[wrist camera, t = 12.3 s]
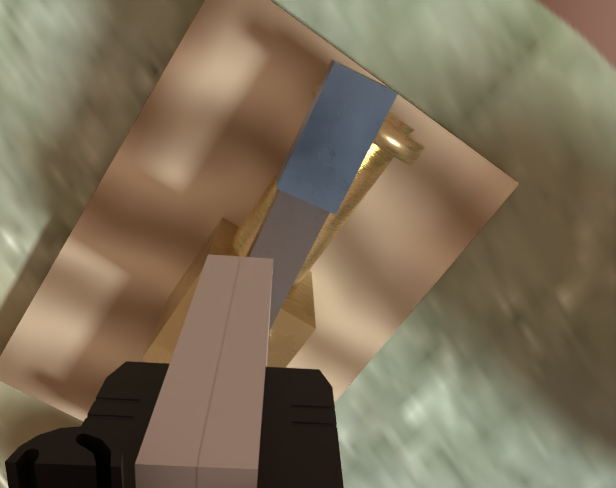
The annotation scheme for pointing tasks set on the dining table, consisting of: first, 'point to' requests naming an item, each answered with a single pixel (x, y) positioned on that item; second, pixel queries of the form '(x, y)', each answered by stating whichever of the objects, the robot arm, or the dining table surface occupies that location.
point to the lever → (319, 171)
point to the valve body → (300, 302)
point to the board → (242, 212)
